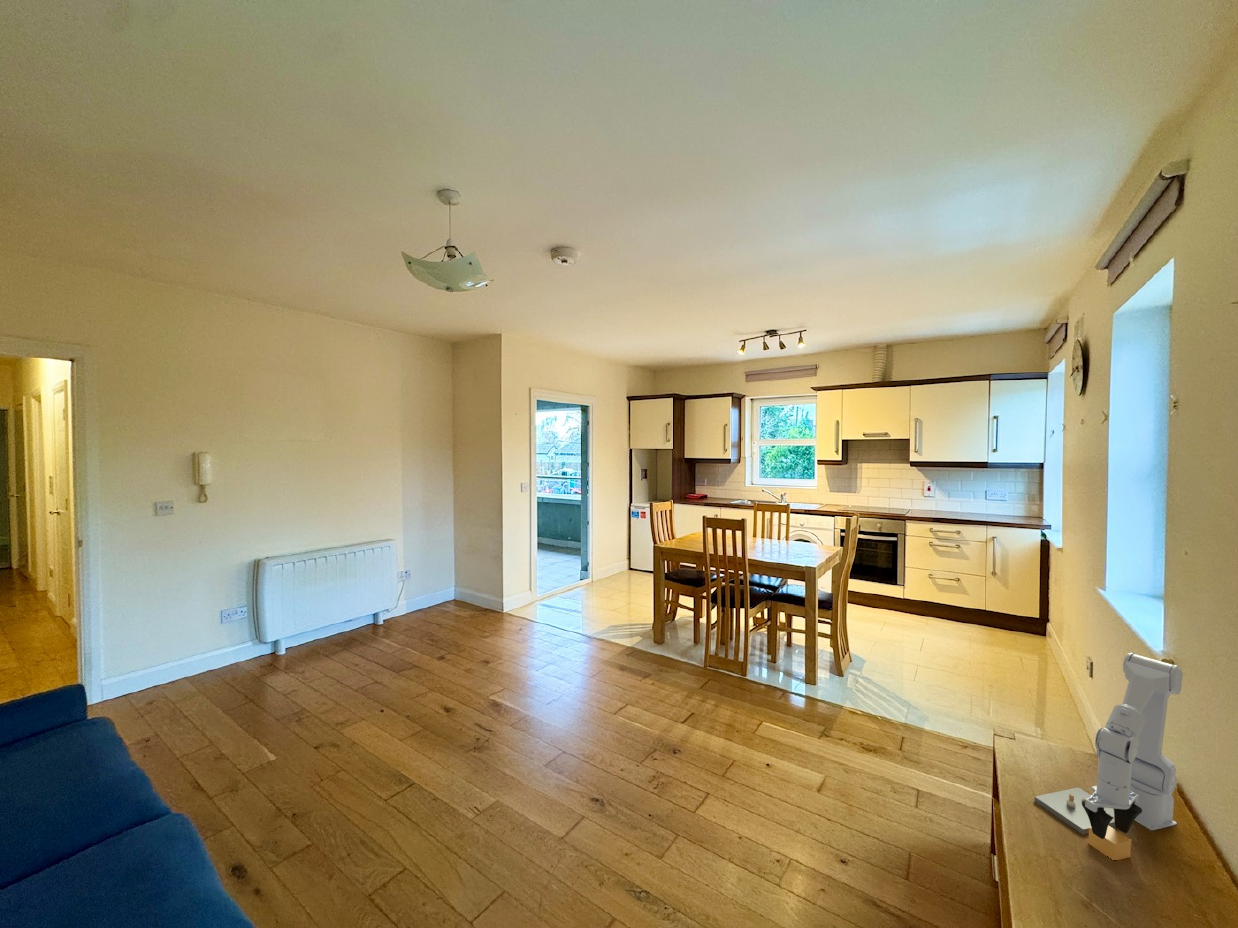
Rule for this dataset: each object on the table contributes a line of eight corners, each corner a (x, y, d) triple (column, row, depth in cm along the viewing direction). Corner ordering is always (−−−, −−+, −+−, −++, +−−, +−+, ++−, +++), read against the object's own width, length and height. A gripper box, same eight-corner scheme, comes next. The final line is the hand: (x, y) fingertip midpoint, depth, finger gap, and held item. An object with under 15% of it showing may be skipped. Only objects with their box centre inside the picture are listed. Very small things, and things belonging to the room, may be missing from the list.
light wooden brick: (1104, 839, 127) (1105, 823, 127) (1130, 856, 122) (1131, 839, 122) (1088, 843, 126) (1089, 826, 126) (1113, 860, 121) (1114, 844, 120)
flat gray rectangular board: (1077, 792, 144) (1078, 777, 144) (1128, 823, 132) (1130, 807, 132) (1034, 801, 140) (1035, 785, 140) (1082, 834, 128) (1084, 818, 128)
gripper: (1116, 765, 128) (1112, 815, 129) (1072, 773, 125) (1069, 825, 126) (1150, 783, 121) (1146, 837, 122) (1106, 793, 118) (1102, 847, 119)
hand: (1109, 832), depth 124 cm, fingers open, 7 cm apart
